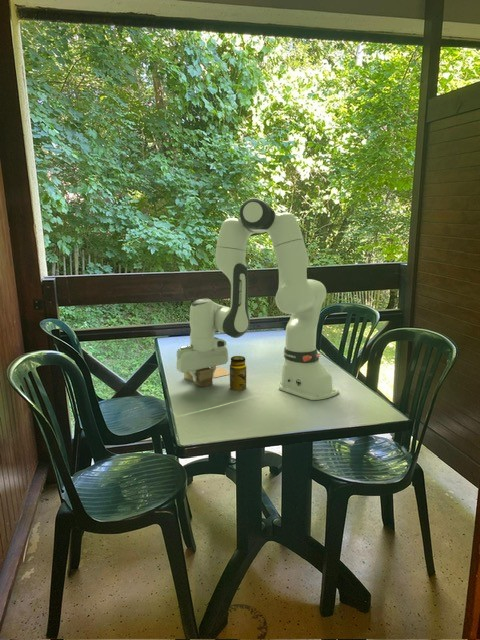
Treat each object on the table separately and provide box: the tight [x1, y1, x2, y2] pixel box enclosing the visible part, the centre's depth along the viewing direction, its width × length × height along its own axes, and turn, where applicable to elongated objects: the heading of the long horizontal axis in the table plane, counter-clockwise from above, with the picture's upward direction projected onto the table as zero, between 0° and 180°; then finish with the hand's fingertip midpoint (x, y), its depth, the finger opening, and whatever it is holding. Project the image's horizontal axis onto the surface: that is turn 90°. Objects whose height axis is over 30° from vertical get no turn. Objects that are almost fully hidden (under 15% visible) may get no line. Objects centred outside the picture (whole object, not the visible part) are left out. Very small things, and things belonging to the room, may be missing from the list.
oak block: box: [183, 371, 194, 382], centre depth 168 cm, size 5×5×6 cm
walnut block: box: [193, 367, 214, 388], centre depth 161 cm, size 5×5×6 cm
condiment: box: [229, 355, 247, 392], centre depth 157 cm, size 7×8×12 cm
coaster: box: [212, 365, 230, 380], centre depth 175 cm, size 11×11×1 cm
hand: (203, 379), depth 161 cm, fingers closed on walnut block, 5 cm apart
